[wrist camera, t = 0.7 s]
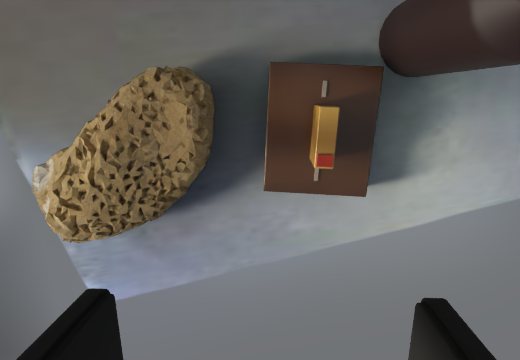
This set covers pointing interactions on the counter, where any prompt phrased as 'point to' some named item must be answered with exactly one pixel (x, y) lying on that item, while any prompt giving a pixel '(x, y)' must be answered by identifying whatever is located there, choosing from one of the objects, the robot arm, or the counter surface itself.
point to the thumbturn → (324, 136)
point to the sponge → (129, 157)
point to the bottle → (450, 36)
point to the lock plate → (300, 126)
